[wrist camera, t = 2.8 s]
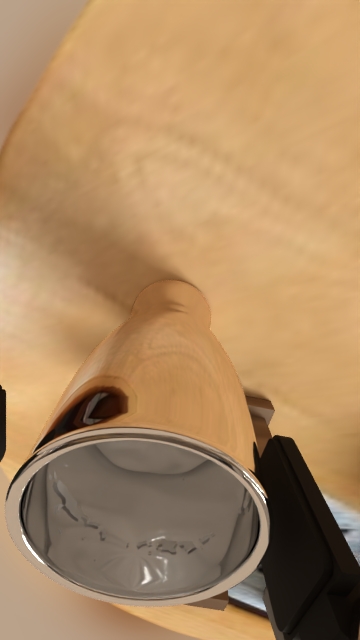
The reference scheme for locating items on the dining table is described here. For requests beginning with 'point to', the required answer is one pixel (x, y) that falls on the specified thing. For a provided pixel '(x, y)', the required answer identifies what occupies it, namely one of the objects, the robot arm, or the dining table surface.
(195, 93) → the dining table surface
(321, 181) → the dining table surface
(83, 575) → the beer glass
